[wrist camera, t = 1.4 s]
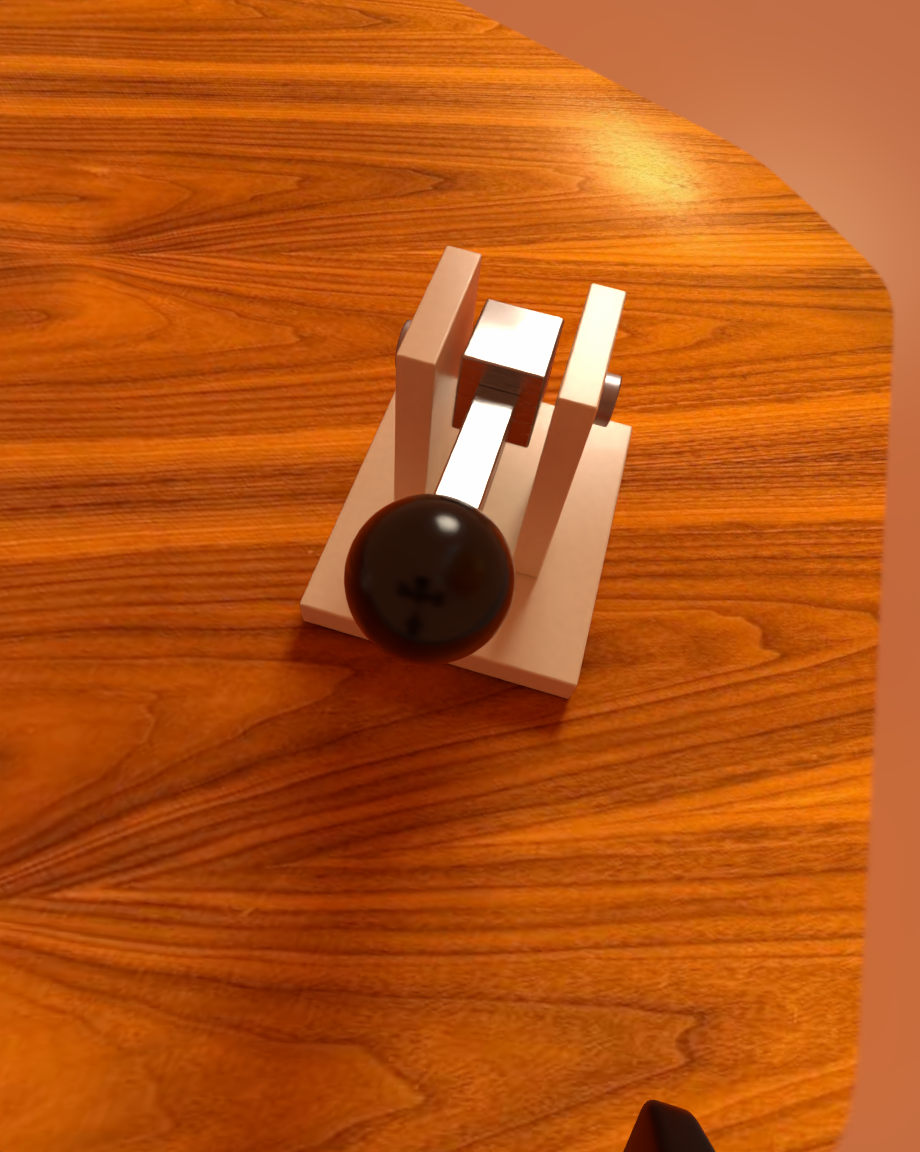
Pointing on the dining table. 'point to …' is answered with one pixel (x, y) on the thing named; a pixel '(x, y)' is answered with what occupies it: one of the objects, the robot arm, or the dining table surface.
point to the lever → (456, 506)
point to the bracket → (501, 480)
